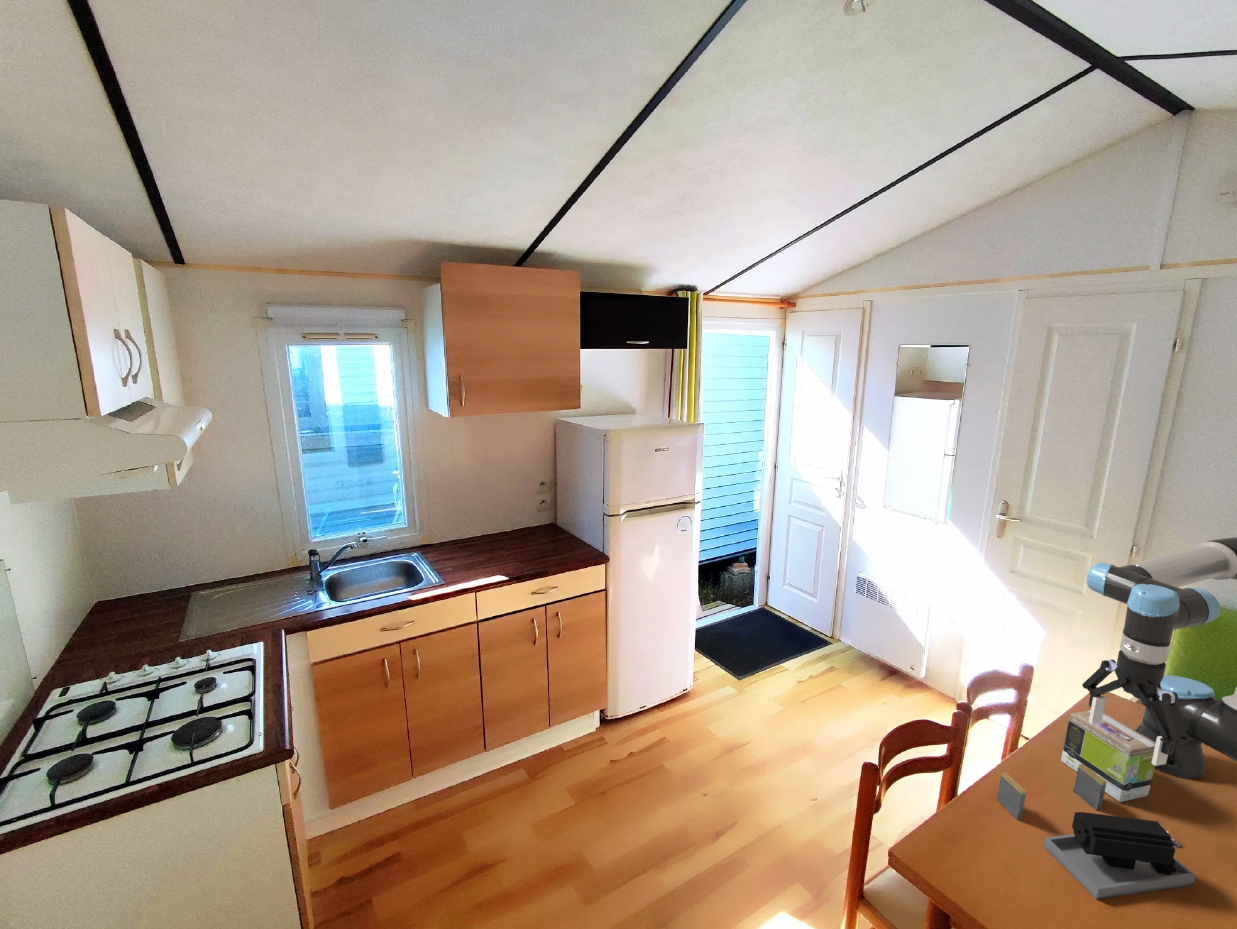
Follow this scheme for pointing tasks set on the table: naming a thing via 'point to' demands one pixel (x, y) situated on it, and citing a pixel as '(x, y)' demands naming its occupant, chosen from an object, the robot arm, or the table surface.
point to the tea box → (1110, 754)
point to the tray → (1112, 871)
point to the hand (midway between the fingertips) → (1125, 741)
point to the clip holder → (1085, 787)
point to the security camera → (1125, 841)
